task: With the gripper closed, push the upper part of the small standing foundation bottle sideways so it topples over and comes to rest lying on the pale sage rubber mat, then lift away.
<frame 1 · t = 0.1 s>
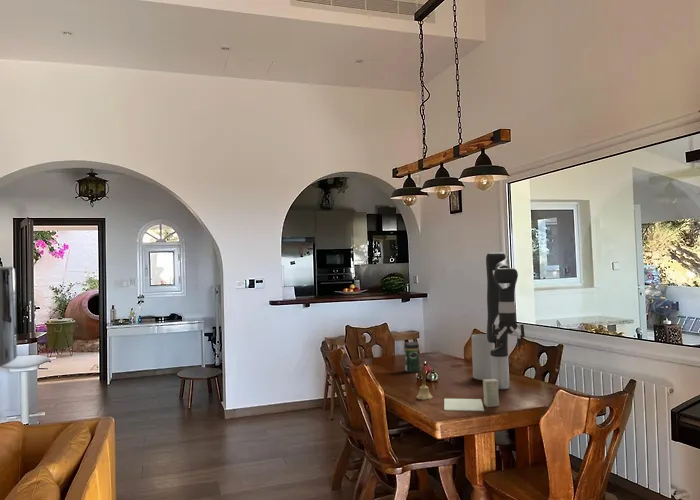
hand: (508, 346, 238), 29 cm above the table, tool pointing down, fingers open, 8 cm apart
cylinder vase: (484, 378, 305), on the table
coffee jar: (412, 371, 332), on the table
skincare box: (491, 405, 246), on the table
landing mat: (463, 405, 249), on the table
hand bell: (424, 398, 265), on the table
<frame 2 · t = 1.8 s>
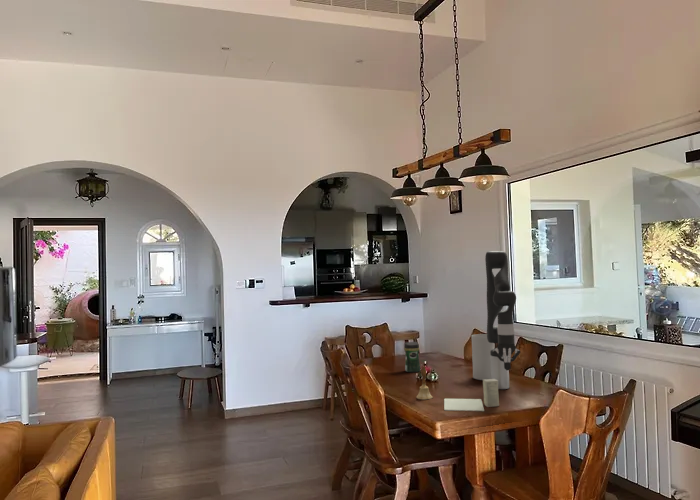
hand: (507, 370, 246), 17 cm above the table, tool pointing down, fingers closed
nothing on the table moved.
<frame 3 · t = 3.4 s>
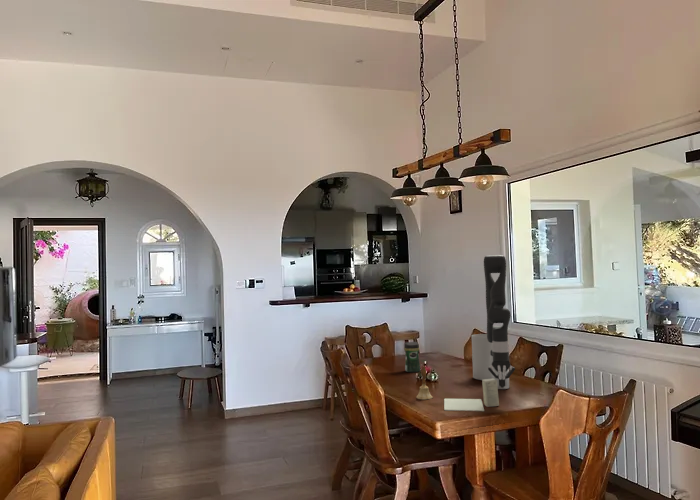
hand: (502, 387, 246), 9 cm above the table, tool pointing down, fingers closed
skincare box: (491, 405, 246), on the table, touching gripper
everything else where it was.
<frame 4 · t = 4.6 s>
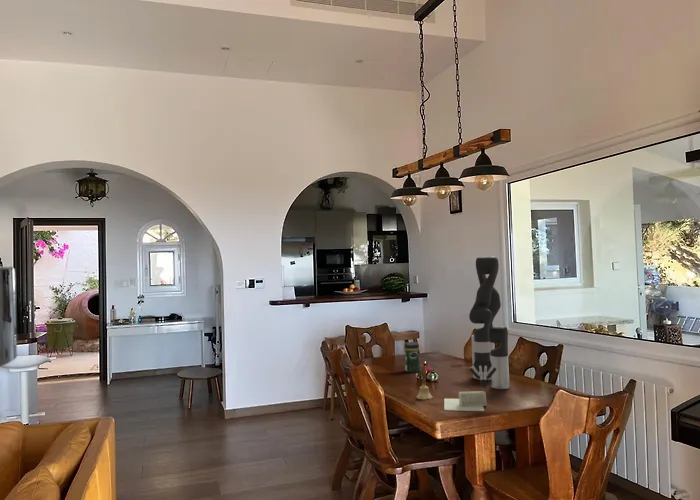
hand: (483, 387, 247), 9 cm above the table, tool pointing down, fingers closed
skincare box: (485, 398, 247), point 3 cm above the table, touching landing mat
everything else where it was.
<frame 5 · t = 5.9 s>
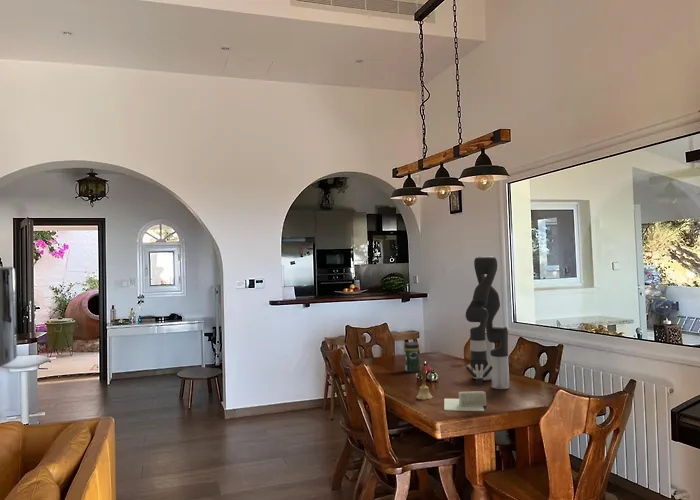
hand: (479, 385, 248), 9 cm above the table, tool pointing down, fingers closed
nothing on the table moved.
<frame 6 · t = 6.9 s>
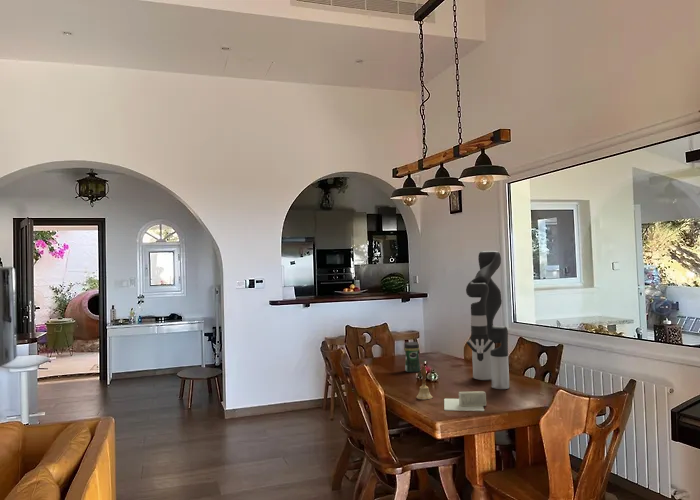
hand: (480, 360, 249), 21 cm above the table, tool pointing down, fingers closed
nothing on the table moved.
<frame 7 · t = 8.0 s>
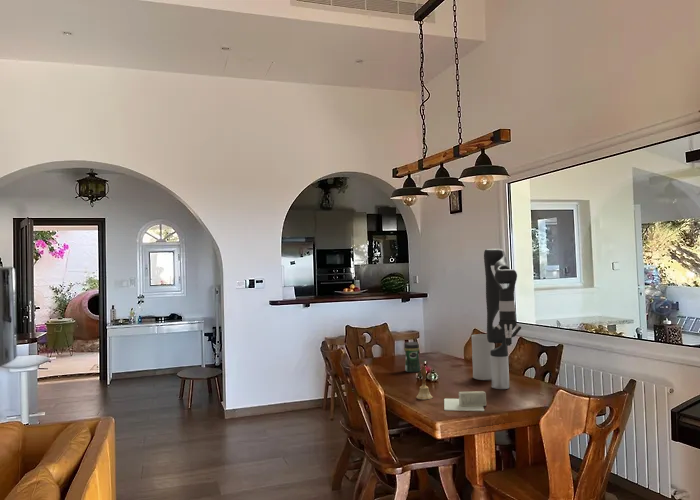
hand: (508, 345, 254), 27 cm above the table, tool pointing down, fingers closed
nothing on the table moved.
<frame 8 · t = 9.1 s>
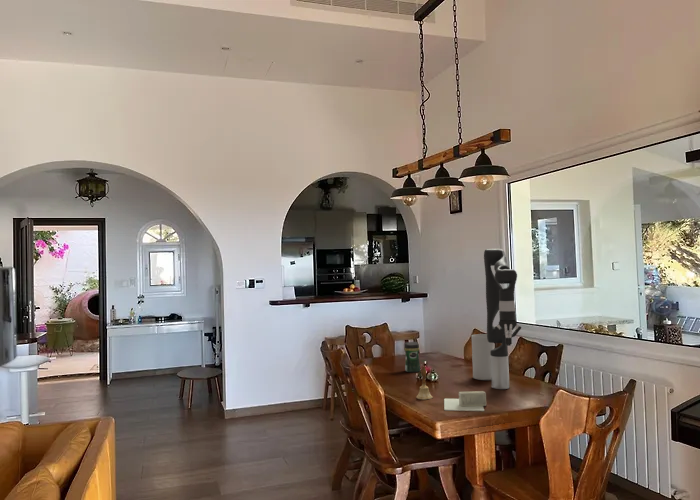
hand: (508, 345, 254), 27 cm above the table, tool pointing down, fingers closed
nothing on the table moved.
at the end: skincare box tilted 89°; skincare box inside the target area (2.1 cm from its centre), point 3.3 cm above the table; skincare box touching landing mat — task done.
